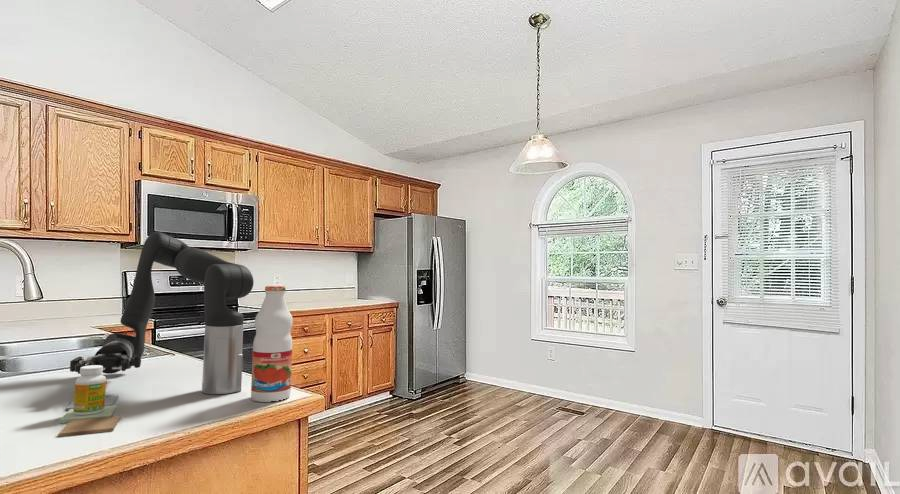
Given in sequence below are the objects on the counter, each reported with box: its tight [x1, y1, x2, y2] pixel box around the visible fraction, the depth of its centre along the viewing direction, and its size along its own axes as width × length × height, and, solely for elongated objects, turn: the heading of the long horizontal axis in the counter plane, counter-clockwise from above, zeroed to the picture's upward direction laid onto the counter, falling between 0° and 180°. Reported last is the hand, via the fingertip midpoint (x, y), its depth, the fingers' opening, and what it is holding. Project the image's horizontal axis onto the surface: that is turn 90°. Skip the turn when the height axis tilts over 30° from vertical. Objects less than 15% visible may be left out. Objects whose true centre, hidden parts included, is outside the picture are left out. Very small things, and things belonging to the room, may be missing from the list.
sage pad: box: [59, 404, 118, 424], centre depth 104 cm, size 8×8×1 cm
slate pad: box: [65, 394, 120, 412], centre depth 112 cm, size 8×8×1 cm
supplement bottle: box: [73, 365, 107, 415], centre depth 104 cm, size 5×5×10 cm
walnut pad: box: [58, 415, 121, 438], centre depth 96 cm, size 8×8×1 cm
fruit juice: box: [250, 285, 294, 403], centre depth 121 cm, size 9×9×28 cm
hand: (102, 368), depth 114 cm, fingers open, 8 cm apart
